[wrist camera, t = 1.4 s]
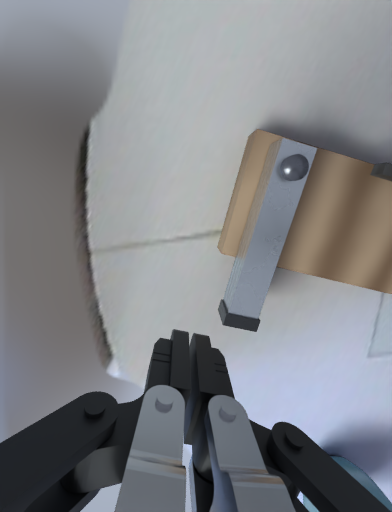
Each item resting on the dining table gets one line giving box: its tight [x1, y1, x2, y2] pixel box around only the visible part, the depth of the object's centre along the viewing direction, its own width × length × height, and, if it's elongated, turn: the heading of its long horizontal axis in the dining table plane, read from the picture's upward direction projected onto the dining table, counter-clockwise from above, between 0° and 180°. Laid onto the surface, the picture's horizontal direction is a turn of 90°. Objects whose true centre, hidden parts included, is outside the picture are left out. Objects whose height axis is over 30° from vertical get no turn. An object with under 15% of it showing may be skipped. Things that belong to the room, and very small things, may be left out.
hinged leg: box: [218, 138, 317, 332], centre depth 23 cm, size 17×3×4 cm, turn 166°
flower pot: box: [303, 456, 392, 512], centre depth 33 cm, size 9×9×9 cm
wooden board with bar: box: [218, 129, 392, 294], centre depth 26 cm, size 24×12×4 cm, turn 76°
